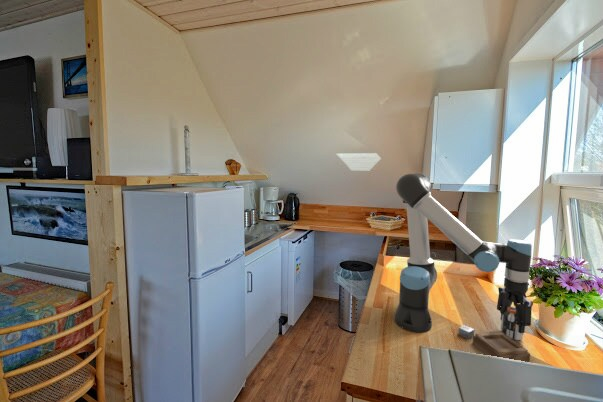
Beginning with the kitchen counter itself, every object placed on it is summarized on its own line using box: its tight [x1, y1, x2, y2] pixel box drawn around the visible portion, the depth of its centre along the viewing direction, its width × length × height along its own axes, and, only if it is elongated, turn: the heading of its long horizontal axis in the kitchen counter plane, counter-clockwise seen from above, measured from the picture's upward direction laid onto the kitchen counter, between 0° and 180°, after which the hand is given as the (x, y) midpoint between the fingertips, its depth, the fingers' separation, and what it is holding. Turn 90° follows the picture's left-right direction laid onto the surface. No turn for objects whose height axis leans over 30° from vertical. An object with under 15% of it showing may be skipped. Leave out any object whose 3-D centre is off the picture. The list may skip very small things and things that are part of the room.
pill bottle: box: [501, 306, 518, 340], centre depth 112 cm, size 6×6×11 cm
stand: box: [472, 331, 531, 363], centre depth 102 cm, size 12×12×4 cm
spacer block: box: [458, 324, 475, 340], centre depth 112 cm, size 4×4×3 cm
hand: (511, 334), depth 112 cm, fingers closed on pill bottle, 6 cm apart
